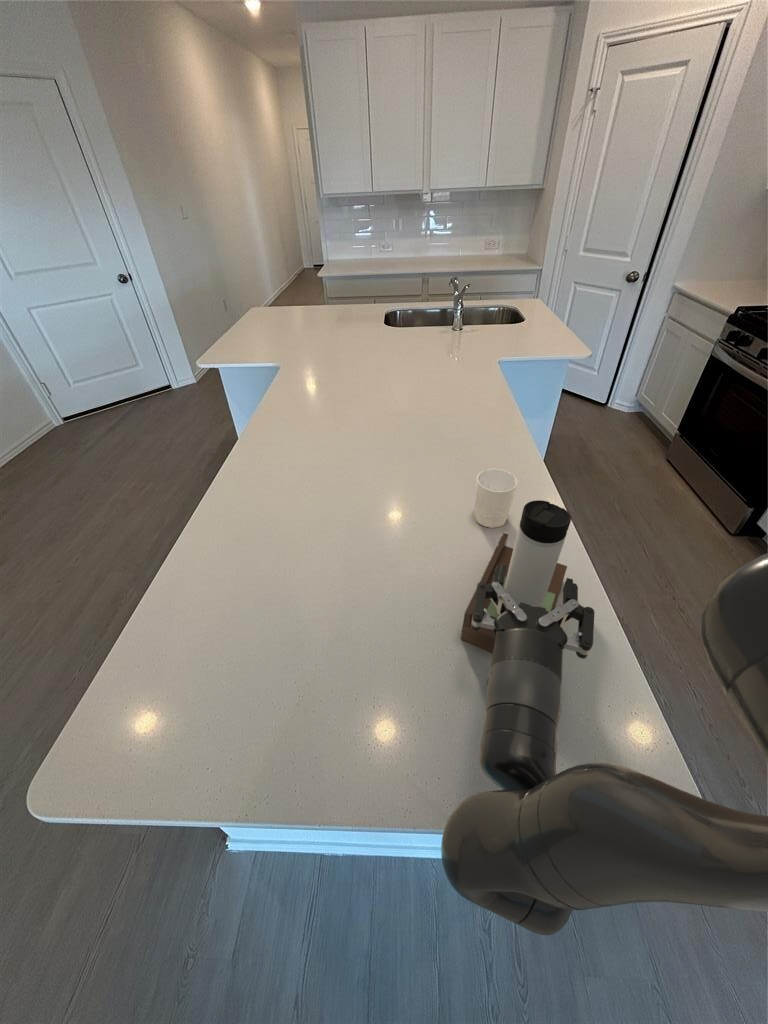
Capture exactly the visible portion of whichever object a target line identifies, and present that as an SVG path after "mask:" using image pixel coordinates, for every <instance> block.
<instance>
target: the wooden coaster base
mask: <svg viewBox="0 0 768 1024" xmlns="http://www.w3.org/2000/svg"><path fill="white" fill-rule="evenodd" d="M508 540H509V534H508V533H505V532H502V534H501V536H500V539H499V540H498V542H497V544H496V547H495V548H494V551H493V553H492V555H491V558H490V560H489V561H488V563H487V566H486V568H485V570H484V572H483V574H482V576H481V578H480V580H479V582H483V583H485V584H486V585H487V584H491V583H492V582H493V577H494V572H495V568H496V567H497V566H498V567H501V564H506V565H507V566H506V572H505V578H504V584H503V588H504V586H505V582H506V578H507V574H508V569H509V565H510V561H511V557H512V553H513V548H514V547H510V546H507V543H508ZM567 569H568V565H565V564H562V563H560V562H557V564H556V567H555V570H554V573H553V576H552V579H551V582H550V585H549V588H548V591H547V594H546V596H545V599H544V602H543V605H542V608H546V611H548V612H551V611H552V610H554V609H555V608H556V607H557V602H558V600H559V595H560V593H561V589H562V585H563V583H564V579H565V576H566V572H567ZM476 590H477V587H476V588H475V590H474V593H473V595H472V597H471V599H470V601H469V602H468V605H467V607H466V609H465V611H464V615H463V620H462V621H463V622H462V628H461V635H460V640H461V641H464V642H466V643H468V644H470V645H473V646H476V647H478V648H480V649H483V650H484V651H487V652H490V653H492V654H493V650H494V644H495V633H494V631H493V630H491V629H486V628H482V627H481V629H480V630H479V631H475V630H473V629H472V628H471V623H472V616H473V609H474V601H475V595H476ZM484 609H487V610H488V612H489V613H490V617H491V618H492V619H495V618H496V617H498V616H499V615H498V613H497V609H496V607H495V605H494V604H493V602H492V601H491V599H490V598H488V599H485V605H484Z"/></svg>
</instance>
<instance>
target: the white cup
mask: <svg viewBox="0 0 768 1024" xmlns="http://www.w3.org/2000/svg"><path fill="white" fill-rule="evenodd" d="M517 486H518V479H517V477H516V476H515V474H514V473H512V472H509V471H507V470H506V469H501V468H487V469H484V470H482V471H480V472H479V473H478V474H477V476H476V483H475V494H474V495H475V497H474V519H475V522H477V523H478V524H479V525H481V526H483V527H486V528H489V529H493V528H500V527H502V526H504V525H505V523H506V522H507V521H508V517H509V513H510V511H511V507H512V504H513V501H514V497H515V493H516V490H517Z"/></svg>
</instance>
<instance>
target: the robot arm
mask: <svg viewBox="0 0 768 1024" xmlns="http://www.w3.org/2000/svg"><path fill="white" fill-rule="evenodd" d="M506 566H507V565H506V564H501V567H498V566H497V567H496V568H495V572H494V577H493V582H492V583H491V584H487V585H486V584H485V583H483V582H480V581H479V582H477V585H476V588H477V590H476V589H475V591H476V595H475V601H474V609H473V616H472V623H471V628H472V629H473V630H475V631H479V630H480V629H481V627H482V628H486V629H491V630H493V631H494V633H495V644H494V650H493V653H492V657H491V664H490V670H489V675H488V677H487V682H486V683H487V684H486V685H487V688H486V697H485V698H486V699H485V700H486V701H485V702H486V703H485V704H486V707H485V717H484V722H483V730H482V734H481V735H482V736H481V740H480V747H479V758H478V759H479V761H478V762H479V767H480V769H481V771H482V773H483V774H484V775H485V776H486V777H487V779H488V780H490V781H491V782H492V783H493V784H494V785H496V786H497V787H498V788H499V789H500V790H489V791H488V790H487V791H482V792H477V793H474V794H472V795H469V796H468V797H467V798H465V799H464V800H462V801H461V803H459V804H458V805H457V806H456V807H455V809H454V810H453V811H452V812H451V814H450V815H449V817H448V819H447V821H446V823H445V826H444V829H443V833H442V836H441V837H442V838H441V845H440V853H441V862H442V867H443V871H444V873H445V876H446V878H447V881H448V882H449V884H450V885H451V887H452V888H453V889H454V890H455V892H457V894H458V895H460V896H461V897H462V898H463V899H465V900H467V901H469V902H471V903H472V904H474V905H476V906H478V907H481V908H483V909H485V910H487V911H489V912H491V913H493V914H495V915H498V916H499V917H501V918H504V919H506V920H507V921H509V922H512V923H514V924H516V925H518V926H519V927H522V928H524V929H525V930H528V931H530V932H532V933H534V934H536V935H537V934H538V935H542V936H552V935H554V934H557V933H558V932H560V931H561V930H562V929H563V927H565V925H566V924H567V923H568V921H569V919H570V917H571V915H572V912H573V911H586V910H593V909H600V908H608V907H615V906H621V905H622V906H623V905H629V904H637V903H639V904H640V903H641V904H643V903H672V904H687V905H695V906H703V907H710V908H711V907H712V908H721V909H730V910H731V909H732V910H739V911H740V910H742V911H756V912H768V815H763V814H756V813H749V812H745V811H740V810H737V809H734V808H730V807H728V806H724V805H722V804H718V803H716V802H712V801H711V800H710V801H709V800H707V799H704V798H702V797H700V796H697V795H694V794H692V793H690V792H688V791H685V790H682V789H681V788H678V787H676V786H673V785H671V784H669V783H666V782H665V781H662V780H660V779H658V778H656V777H653V776H650V775H648V774H645V773H643V772H640V771H638V770H635V769H632V768H629V767H627V766H623V765H619V764H613V763H605V762H590V763H584V764H583V763H582V764H577V765H573V766H571V767H569V768H566V769H565V770H562V771H560V772H559V773H557V749H558V726H559V720H560V716H561V709H562V680H563V679H562V678H563V650H564V649H567V650H569V651H573V652H575V654H576V657H578V658H580V659H583V660H585V659H587V657H588V655H589V653H590V652H591V650H592V648H593V645H594V630H595V629H594V628H595V610H594V608H593V607H591V606H582V605H581V604H580V603H579V592H578V591H579V586H578V584H577V583H574V578H569V577H566V579H565V582H564V585H563V588H562V589H563V590H562V605H561V604H559V605H558V606H555V609H554V610H552V611H551V612H548V611H546V608H542V607H533V606H530V605H528V604H525V603H521V602H520V604H517V603H516V602H515V600H514V599H513V597H512V596H511V595H510V594H509V593H507V592H506V591H505V590H504V588H503V584H504V578H505V572H506ZM488 598H490V599H491V601H492V602H493V604H494V605H495V607H496V609H497V613H498V615H499V616H498V617H496V618H495V619H492V618H491V617H490V613H489V612H488V610H487V609H484V605H485V599H488ZM572 619H574V620H576V621H578V625H577V626H578V627H577V632H574V633H573V635H572V636H571V637H568V635H567V633H566V632H565V630H564V629H563V627H564V626H565V625H566V624H568V622H570V621H571V620H572ZM699 620H700V621H699V622H700V623H699V633H700V634H699V635H700V640H701V644H702V647H703V651H704V654H705V657H706V658H707V661H708V663H709V665H710V668H711V669H712V671H713V674H714V676H715V679H716V681H717V682H718V684H719V685H720V687H721V689H722V691H723V692H724V694H725V695H726V697H727V698H728V699H729V701H730V703H731V705H732V706H733V708H734V710H735V711H736V713H737V714H738V716H739V718H740V720H741V721H742V723H743V724H744V727H746V729H747V731H748V732H749V734H750V736H751V738H752V739H753V740H754V742H755V744H756V745H757V747H758V749H759V750H760V752H761V753H762V755H763V756H764V758H765V760H766V762H767V763H768V552H766V553H763V554H761V555H758V556H757V557H755V558H753V559H751V560H749V561H747V562H745V563H743V564H742V565H740V566H738V567H737V568H735V569H734V570H732V571H731V572H730V573H729V574H727V575H726V576H724V578H723V579H722V580H721V581H720V582H719V583H718V584H717V585H716V586H715V587H714V589H713V590H712V592H711V593H710V594H709V596H708V598H707V599H706V602H705V604H704V605H703V608H702V611H701V614H700V619H699Z"/></svg>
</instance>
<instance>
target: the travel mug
mask: <svg viewBox="0 0 768 1024" xmlns="http://www.w3.org/2000/svg"><path fill="white" fill-rule="evenodd" d="M571 522H572V516H571V514H570V512H569V511H568V510H566V509H565V508H564V507H561V506H559V505H557V504H554V503H551V502H550V501H548V500H543V499H542V500H541V499H538V500H537V499H536V500H531V501H528V502H527V503H525V505H523V508H522V512H521V518H520V521H519V524H518V528H517V533H516V537H515V541H514V544H513V547H512V548H513V553H512V557H511V561H510V565H509V569H508V574H507V578H506V582H505V586H504V590H505V591H506V592H507V593H509V594H510V595H511V596H512V597H513V599H514V600H515V602H516V603H517V604H520V602H521V603H525V604H528V605H530V606H533V607H542V605H543V602H544V599H545V596H546V594H547V591H548V588H549V585H550V582H551V579H552V576H553V573H554V570H555V567H556V564H557V563H558V561H559V558H560V555H561V552H562V549H563V547H564V544H565V540H566V537H567V534H568V530H569V528H570V524H571Z"/></svg>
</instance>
